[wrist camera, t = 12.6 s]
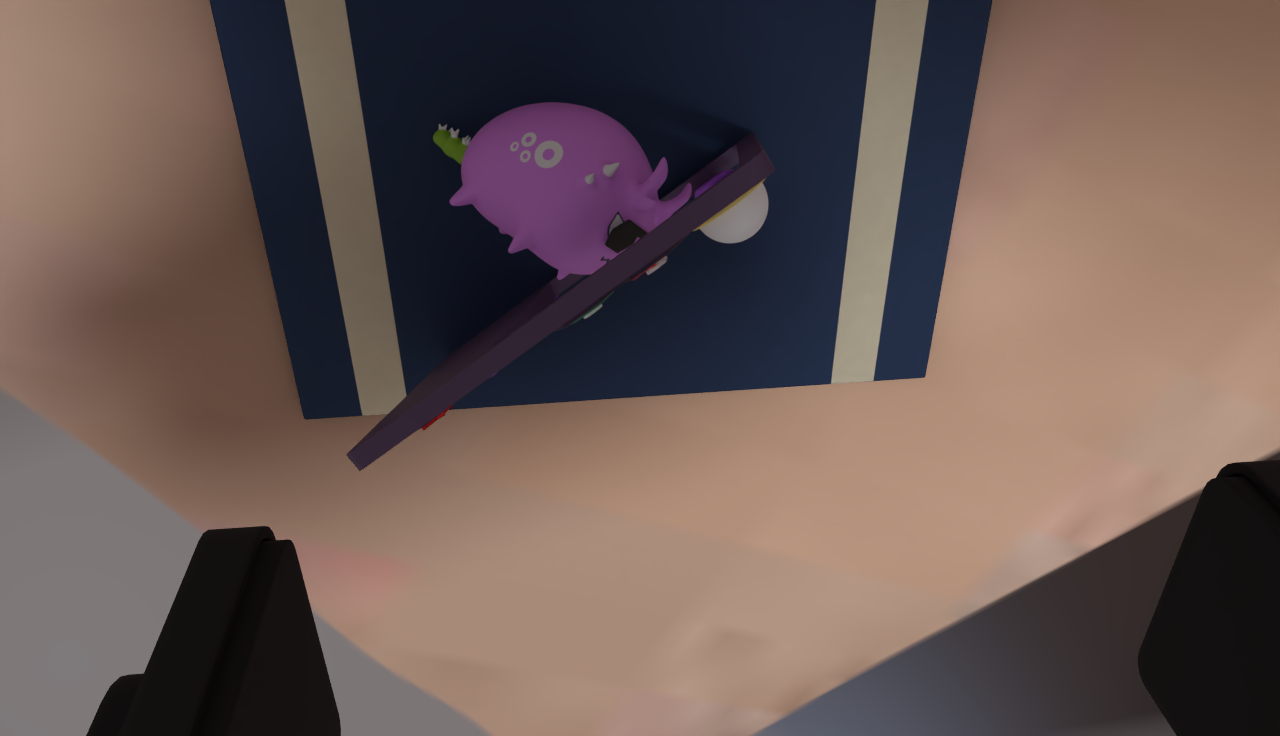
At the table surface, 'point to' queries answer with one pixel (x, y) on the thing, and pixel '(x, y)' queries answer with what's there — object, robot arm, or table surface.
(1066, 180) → the table surface
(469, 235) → the cloth
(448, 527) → the table surface
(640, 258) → the monster skateboard toy
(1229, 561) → the robot arm
